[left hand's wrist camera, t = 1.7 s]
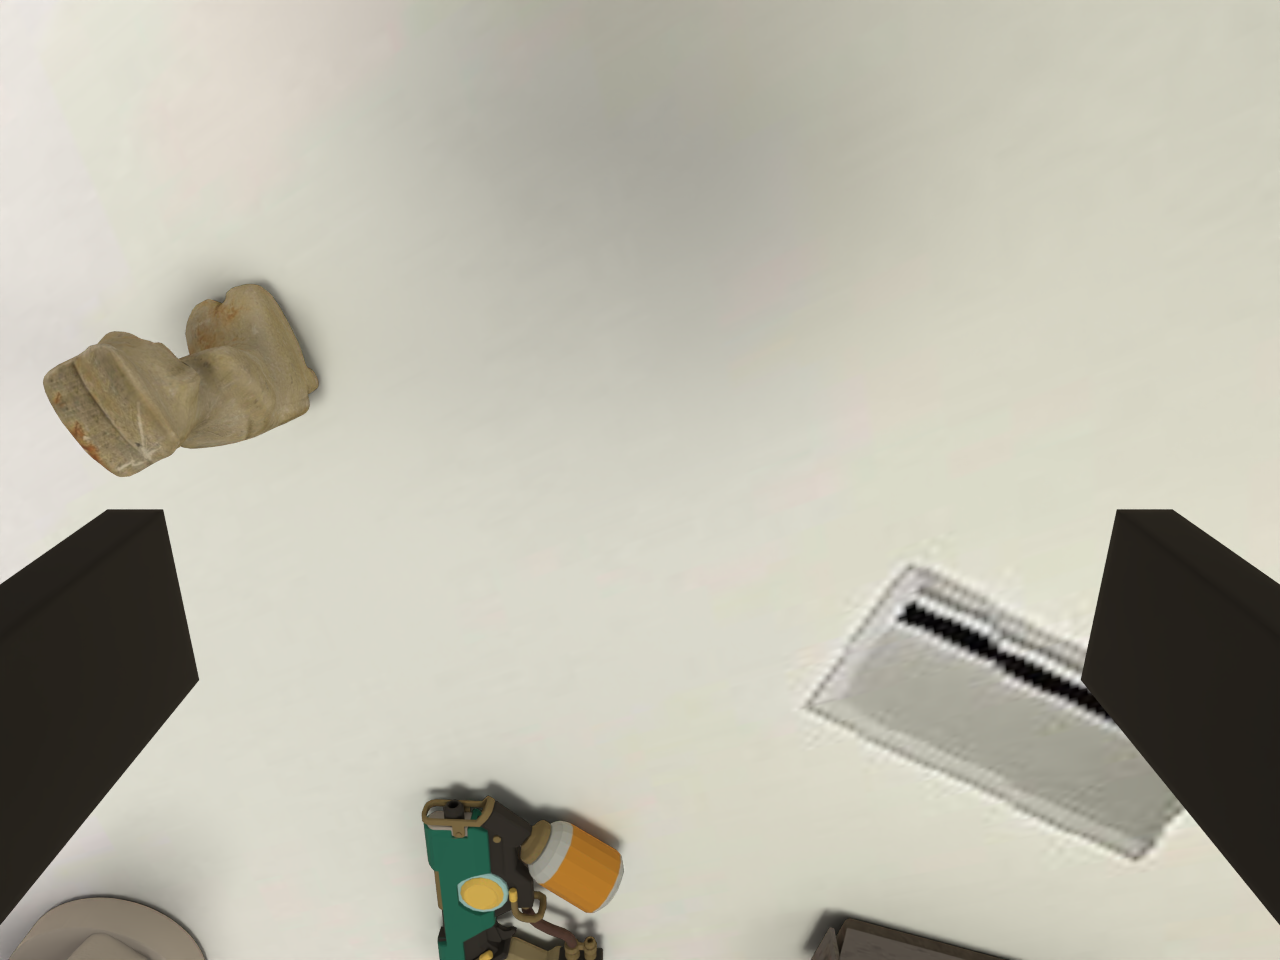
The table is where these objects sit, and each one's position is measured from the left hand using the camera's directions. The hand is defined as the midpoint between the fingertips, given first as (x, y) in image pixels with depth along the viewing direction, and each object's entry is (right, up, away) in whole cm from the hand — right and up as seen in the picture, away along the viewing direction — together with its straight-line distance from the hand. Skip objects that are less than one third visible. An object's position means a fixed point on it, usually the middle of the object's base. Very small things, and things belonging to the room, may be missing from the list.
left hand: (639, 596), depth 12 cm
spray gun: (-8, -26, +49) cm, 57 cm away
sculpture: (-20, +9, +36) cm, 42 cm away
